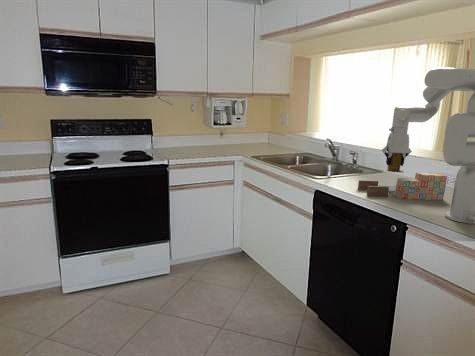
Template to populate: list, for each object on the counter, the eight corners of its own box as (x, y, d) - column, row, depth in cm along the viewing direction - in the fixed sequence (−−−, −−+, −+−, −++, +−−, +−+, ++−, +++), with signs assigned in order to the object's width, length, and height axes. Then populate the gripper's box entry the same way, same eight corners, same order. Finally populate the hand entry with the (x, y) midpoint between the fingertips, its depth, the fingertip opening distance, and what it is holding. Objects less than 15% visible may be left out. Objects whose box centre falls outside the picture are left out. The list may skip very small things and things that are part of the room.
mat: (408, 192, 184) (408, 191, 184) (385, 192, 183) (385, 191, 183) (397, 186, 196) (397, 185, 195) (375, 186, 195) (375, 185, 195)
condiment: (386, 168, 192) (389, 146, 189) (403, 170, 189) (407, 148, 186) (386, 171, 186) (389, 148, 183) (404, 173, 183) (407, 150, 180)
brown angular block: (387, 196, 174) (388, 187, 173) (367, 196, 174) (368, 186, 173) (376, 189, 187) (377, 180, 186) (357, 189, 187) (358, 180, 186)
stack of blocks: (400, 199, 171) (404, 174, 168) (394, 195, 177) (397, 171, 175) (443, 200, 173) (447, 175, 170) (435, 196, 179) (439, 172, 176)
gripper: (386, 131, 178) (381, 166, 183) (419, 132, 179) (414, 167, 183) (379, 129, 186) (375, 163, 190) (412, 130, 186) (407, 164, 191)
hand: (394, 164), depth 187 cm, fingers closed on condiment, 6 cm apart
